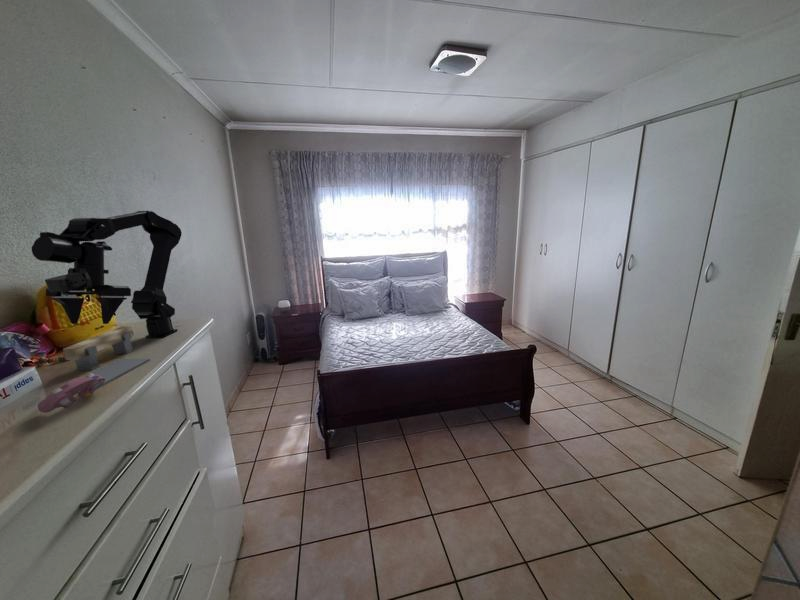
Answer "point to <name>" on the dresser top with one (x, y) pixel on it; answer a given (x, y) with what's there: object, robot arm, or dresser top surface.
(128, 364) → the slate mat
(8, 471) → the dresser top surface
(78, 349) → the birch rail
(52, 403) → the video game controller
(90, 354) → the metal standards
